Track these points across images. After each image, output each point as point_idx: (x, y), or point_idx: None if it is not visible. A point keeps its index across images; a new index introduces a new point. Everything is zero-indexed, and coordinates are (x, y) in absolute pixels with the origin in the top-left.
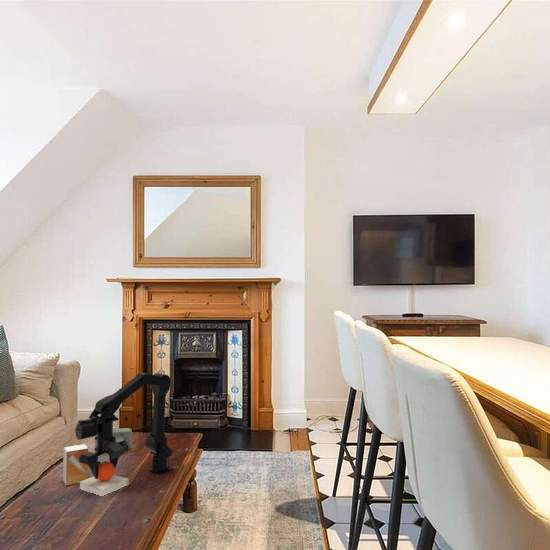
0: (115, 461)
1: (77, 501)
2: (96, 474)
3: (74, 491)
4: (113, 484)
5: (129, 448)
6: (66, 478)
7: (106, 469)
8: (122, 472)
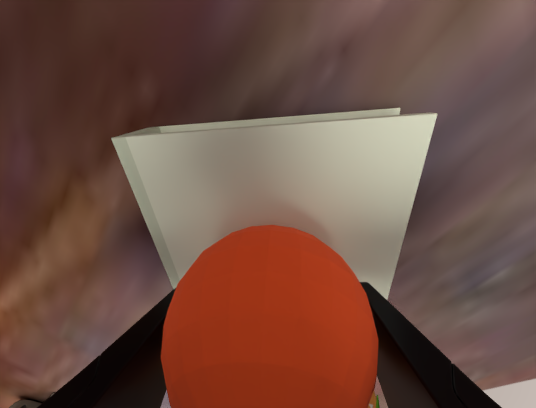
0: (98, 396)
1: (521, 191)
2: (403, 319)
3: (394, 299)
4: (284, 135)
5: (21, 402)
6: (373, 392)
7: (323, 317)
8: (109, 296)
